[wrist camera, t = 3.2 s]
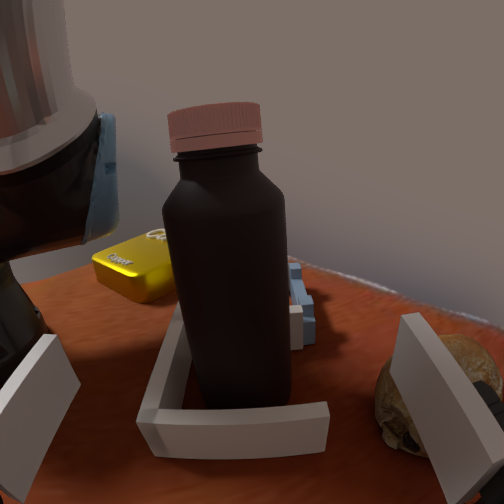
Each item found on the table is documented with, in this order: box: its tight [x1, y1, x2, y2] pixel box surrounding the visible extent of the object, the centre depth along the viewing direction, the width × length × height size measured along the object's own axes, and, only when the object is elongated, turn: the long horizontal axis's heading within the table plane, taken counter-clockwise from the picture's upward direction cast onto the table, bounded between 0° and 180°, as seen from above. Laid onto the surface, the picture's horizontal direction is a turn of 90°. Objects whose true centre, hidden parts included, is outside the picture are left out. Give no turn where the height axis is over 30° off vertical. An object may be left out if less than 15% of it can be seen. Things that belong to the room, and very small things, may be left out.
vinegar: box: [162, 102, 291, 410], centre depth 19 cm, size 7×7×20 cm
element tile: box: [92, 229, 176, 303], centre depth 46 cm, size 15×15×5 cm
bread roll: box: [375, 334, 503, 458], centre depth 17 cm, size 10×10×8 cm
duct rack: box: [136, 263, 330, 459], centre depth 27 cm, size 12×24×4 cm, turn 1°
